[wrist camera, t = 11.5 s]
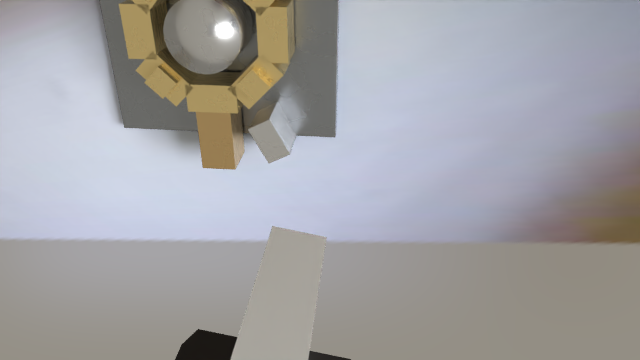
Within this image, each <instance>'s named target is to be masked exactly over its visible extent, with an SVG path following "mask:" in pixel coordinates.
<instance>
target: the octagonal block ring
mask: <svg viewBox="0 0 640 360" xmlns="http://www.w3.org/2000/svg"><path fill="white" fill-rule="evenodd" d="M166 1H167V0H126V1H124V2H122V3H120V4H119V9H120V14H121V20H122V25H123V30H124V36H125V41H126V47H127V52H128V58H129V59H145V60H144V61H143V62H142V63H141V65H140V66H139V67H138V68H137V69H136V71H137V72H138V73H139V74H140V75H141V76H142V77H143V78H145V79H146V81H145V82H144V83H145V84H146V85H148V86H149V87H150V88H151V89H152V90H153V91H154V92H156V93H157V94H158V95H159V96H160V97H161V98H162V99H163V98H164V97H166V98H167V99H168V100H169V101H171V102H172V103H173V104H174V105H175V106H176V107H177V106H178V104H179V103H180V102H181V101H182V100H183V99H184V98H185V97H186V98H187V106H188V112H196V117H197V125H198V133H199V141H200V149H201V157H202V165H203V168H216V169H236V167H237V165H238V163H239V161H240V160H241V158H242V156H243V154H244V140H243V127H242V115H241V108H242V106H243V105H245V106H246V107H247V108H248V109H250V108H251V107H252V106H253V105H254V104H255V103H256V102H257V101H258V100H259V99H260V98H261V97H262V96H263V95H264V94H265V93H266V92H267V91H268V90H269V89H270V88H271V87H272V86H273V85H274V84H275V83H276V82H277V81H278V80H279V79H280V78H281V77H282V76H283V75H284V74H285V72H286V70H287V68H288V66H289V64H290V59H291V58H292V56H293V54H294V52H295V38H294V0H243V1H244V2H245V3H246V4H247V5H249V6H250V7H251V8H252V9H253V10H254V11H255V12H256V24H257V41H258V55H257V56H256V57H255V58H254V59H253V60H252V61H251V62H250V64H249V65H248V66H247V67H246V68H245V69H244V70H243V71H242V72H241V73H239V72H218V73H215V74H199V73H195V72H192V71H190V70H188V69H186V68H185V67H183V66H182V65H180V64H179V63H178V62H177V61H176V60H175V59H174V58H173V56H172V55H171V53H170V52H169V50H168V48H167V46H166V43H165V39H164V33H163V27H164V20H165V17H166V15H167V6H166Z"/></svg>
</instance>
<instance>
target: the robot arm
mask: <svg viewBox="0 0 640 360" xmlns="http://www.w3.org/2000/svg"><path fill="white" fill-rule="evenodd" d="M326 238H327V237H323V236H318V235H313V234H308V233H303V232H298V231H294V230H289V229H284V228H279V227H274V226H272V229H271V233H270V236H269V239H268V242H267V245H266V248H265V252H264V255H263V258H262V261H261V264H260V267H259V271H258V274H257V277H256V280H255V283H254V286H253V290H252V293H251V296H250V299H249V302H248V306H247V309H246V312H245V315H244V318H243V322H242V325H241V328H240V331H239V334H238V337H234V336H228V335H224V334H219V333H214V332H209V331H205V330H199V329H198V330H197V331H196V332H195V333H194V334H192V336H190V337H189V338H188V339H187V340H186V341H185V342H184V343H183V344H182V345H181V347H180V350H179V352H178V354H177V357H176V359H175V360H351V359H347V358H342V357H337V356H332V355H328V354H322V353H318V352H313V351H310V345H311V338H312V331H313V324H314V318H315V311H316V304H317V297H318V291H319V285H320V278H321V271H322V264H323V258H324V251H325V245H326Z"/></svg>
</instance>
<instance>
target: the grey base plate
mask: <svg viewBox="0 0 640 360" xmlns="http://www.w3.org/2000/svg"><path fill="white" fill-rule="evenodd" d="M99 1H100V6H101V11H102V16H103V21H104V26H105V31H106V36H107V41H108V46H109V52H110V57H111V62H112V67H113V72H114V77H115V82H116V87H117V92H118V98H119V103H120V108H121V113H122V118H123V123H124V128H143V129H165V130H187V131H198V125H197V117H196V112H188V106H187V98H186V97H185V98H184V99H183V100H182V101H181V102H180V103H179V104H178V106H177V107H176V106H175V105H174V104H173V103H172V102H171V101H169V100H168V99H167V98H166V97H164V98H163V99H162V98H161V97H160V96H159V95H158V94H157V93H156V92H154V91H153V90H152V89H151V88H150V87H149V86H148V85H146V84H145V83H144V82H145V81H146V79H145V78H143V77H142V76H141V75H140V74H139V73H138V72H137V71H136V69H137V68H138V67H139V66H140V65H141V63H142V62H143V61H144V60H145V59H129V58H128V52H127V47H126V41H125V36H124V30H123V25H122V20H121V14H120V9H119V4H120V3H122V2H124V1H126V0H99ZM166 6H167V15H166V17H165V20H164V27H163V33H164V39H165V43H166V46H167V48H168V50H169V52H170V53H171V55H172V56H173V58H174V59H175V60H176V61H177V62H178V63H179V64H180V65H182V66H183V67H185V68H186V69H188V70H190V71H192V72H195V73H199V74H215V73H218V72H239V73H241V72H242V71H243V70H244V69H245V68H246V67H247V66H248V65H249V64H250V62H251V61H252V60H253V59H254V58H255V57H256V56H257V55H258V41H257V24H256V12H255V11H254V10H253V9H252V8H251V7H250V6H249V5H247V4H246V3H245V2H244V1H243V0H167V1H166ZM338 21H339V0H294V38H295V52H294V54H293V56H292V58H291V59H290V64H289V66H288V68H287V70H286V72H285V74H284V75H283V76H282V77H281V78H280V79H279V80H278V81H277V82H276V83H275V84H274V85H273V86H272V87H271V88H270V89H269V90H268V91H267V92H266V93H265V94H264V95H263V96H262V97H261V98H260V99H259V100H258V101H257V102H256V103H255V104H254V105H253V106H252V107H251V108H250V109H248V108H247V107H246V106H245V105H243V106H242V108H241V115H242V127H243V133H250V134H251V136H252V137H253V139H254V140H255V142H256V144H257V145H258V147H259V148H260V150H261V152H262V153H263V155H264V156H265V158H266V160H267V161H268V163H271V162H274V161H276V160H278V159H280V158H283V157H285V156H287V155H290V153H291V150H292V147H293V144H294V141H295V138H296V135H298V136H320V137H335V136H336V115H337V68H338Z"/></svg>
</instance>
